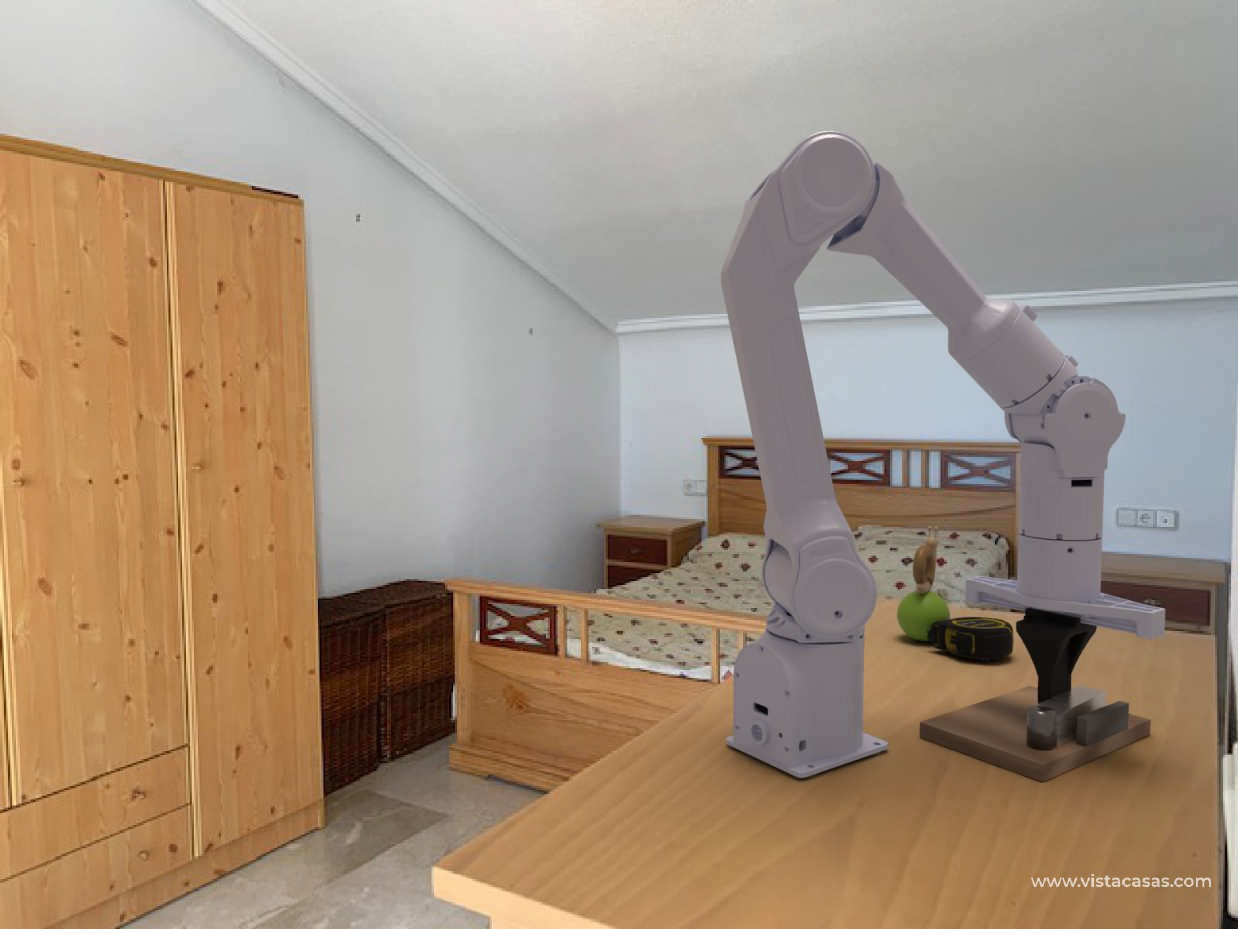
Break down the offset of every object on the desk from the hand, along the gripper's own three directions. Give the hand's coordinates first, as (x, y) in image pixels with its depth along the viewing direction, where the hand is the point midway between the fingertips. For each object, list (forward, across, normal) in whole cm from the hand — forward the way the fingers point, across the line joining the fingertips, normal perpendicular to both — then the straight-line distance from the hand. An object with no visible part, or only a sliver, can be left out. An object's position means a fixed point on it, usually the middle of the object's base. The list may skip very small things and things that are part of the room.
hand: (1054, 710), depth 69 cm
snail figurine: (+2, +24, -16) cm, 28 cm away
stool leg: (+1, -2, +1) cm, 2 cm away
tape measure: (+3, +17, -15) cm, 23 cm away
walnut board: (+2, +1, +1) cm, 3 cm away
